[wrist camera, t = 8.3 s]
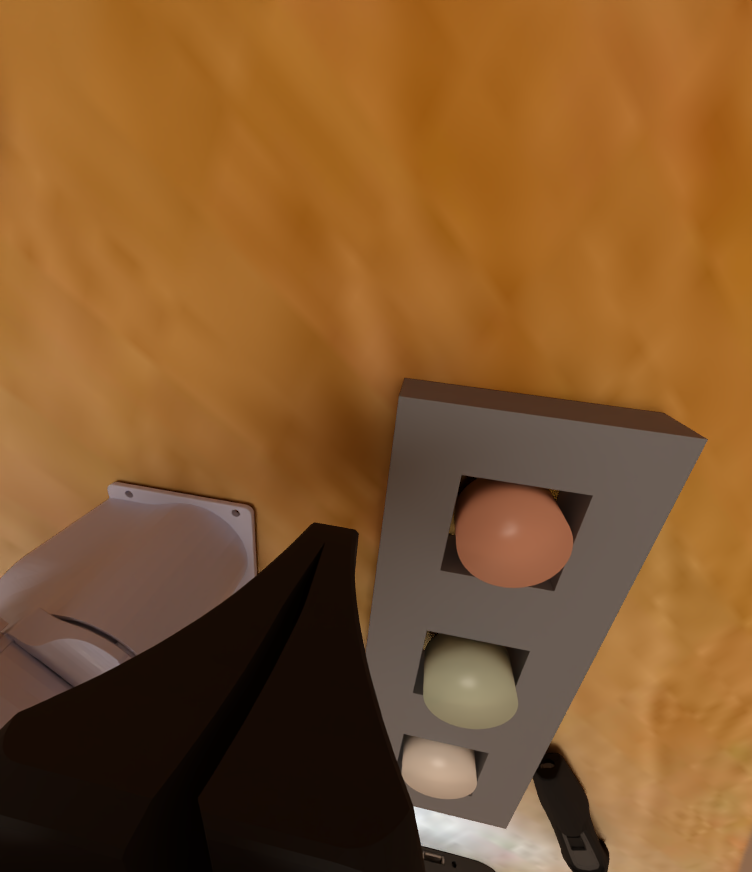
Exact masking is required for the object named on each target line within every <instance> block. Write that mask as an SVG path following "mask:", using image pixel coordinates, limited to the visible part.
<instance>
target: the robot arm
mask: <svg viewBox="0 0 752 872" xmlns="http://www.w3.org/2000/svg"><path fill="white" fill-rule="evenodd" d="M131 492H132V493H131ZM108 494H109V499H108V500H106V501H105V502H103V503H102V504H100V505H99V506H97V507H96V508H94V509H93V510H91V511H90V512H88V513H87V514H86V515H84V516H83V517H81V518H80V519H78V520H77V521H75V522H74V523H72V524H71V525H69V526H68V527H66V528H65V529H63V530H62V531H61V532H59V533H58V534H56V535H55V536H53V537H52V538H50V539H49V540H47V541H46V542H44V543H43V544H41V545H40V546H39V547H37V548H36V549H34V550H33V551H31V552H30V553H28V554H27V555H25V556H24V557H23V558H21V559H20V560H19V561H18V562H16V563H15V564H14V565H13V566H12V567H11V568H10V569H9V570H8V571H7V572H6V573H5V574H4V575H3V576H2V578H1V579H0V872H426V871H425V864H424V859H423V854H422V848H421V843H420V838H419V833H418V829H417V824H416V819H415V813H414V807H413V804H412V801H411V798H410V795H409V793H408V790H407V787H406V785H405V782H404V779H403V777H402V774H401V771H400V768H399V765H398V763H397V760H396V757H395V754H394V751H393V748H392V745H391V742H390V739H389V736H388V733H387V730H386V727H385V724H384V721H383V717H382V714H381V710H380V707H379V703H378V700H377V696H376V693H375V689H374V686H373V682H372V679H371V675H370V670H369V666H368V662H367V658H366V653H365V648H364V644H363V639H362V633H361V628H360V622H359V615H358V608H357V600H356V590H355V566H356V556H357V546H358V535H359V534H358V532H357V531H356V530H354V529H349V528H343V527H337V526H332V525H326V524H320V523H315V522H314V523H313V524H311V525H310V526H309V527H308V528H307V529H306V530H305V531H304V532H303V533H302V534H301V535H300V536H299V537H298V538H297V539H296V540H295V541H294V542H293V543H292V544H291V545H290V546H289V547H288V548H287V549H286V550H285V551H284V552H283V553H282V554H280V555H279V556H278V557H277V558H276V559H275V560H274V561H273V562H271V563H270V564H269V565H268V566H267V567H266V568H265V569H264V570H262V571H261V572H260V573H259V574H258V575H257V565H256V544H255V522H254V511H253V509H252V507H250V506H249V505H246V504H240V503H234V502H229V501H223V500H217V499H212V498H206V497H200V496H194V495H189V494H183V493H177V492H172V491H166V490H160V489H155V488H149V487H143V486H137V485H132V484H126V483H120V482H113V483H112V484H110V485H109V486H108ZM235 510H238V511H239V513H238V512H236V511H235Z"/></svg>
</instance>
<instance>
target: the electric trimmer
mask: <svg viewBox="0 0 752 872" xmlns="http://www.w3.org/2000/svg"><path fill="white" fill-rule="evenodd" d="M533 780H534V783H535V787H536V790H537V794H538V797H539V799H540V802H541V805H542V806H543V808H544V810H545V812H546V814H547V816H548V818H549V820H550V822H551V824H552V827H553V829H554V831H555V834H556V837H557V839H558V842H559V845H560V848H561V853H562V856H563V858H564V860H565V861H566V863H567V865H568V866H569V867H570V869H571V870H572V871H573V872H607V871H608V865H609V851H608V848H607V847H606V845H605V843H604V841H603V840H598V837H597V835H596V833H595V830H594V827H593V824H592V821H591V818H590V813H589V802H588V798H587V796H586V794H585V792H584V790H583V788H582V787H581V785H580V783H579V782H578V780H577V779H576V777H575V775H574V774H573V772H572V771H571V769H570V768H569V766H568V764H567V763H566V761H565V760H564V758H563V757H562V756H561V755H560V754H558V753H555V754H544V756H543V758H542V760H541V762H540V764H539V766H538V768H537V770H536V772H535V774H534V776H533Z"/></svg>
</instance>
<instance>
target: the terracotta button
mask: <svg viewBox="0 0 752 872" xmlns="http://www.w3.org/2000/svg"><path fill="white" fill-rule="evenodd" d="M454 521H455V534H456V547H457V553H458V556H459V559H460V560H461V562H462V564H463V565H464V567H465V568H466V569H467V570H468V571H469V572H470V573H471V574H472V575H474V576H475V577H476V578H478V579H480V580H482V581H484V582H486V583H488V584H491V585H495V586H499V587H506V588H522V587H528V586H532V585H536V584H539V583H542V582H544V581H546V580H548V579H550V578H551V577H553V576H554V575H556V574H557V573H558V572H559V571H560V570H561V569H562V568H563V567H564V566H565V564H566V563H567V562H568V560H569V558H570V556H571V553H572V549H573V536H572V532H571V529H570V527H569V525H568V523H567V521H566V519H565V517H564V515H563V514H562V512H561V510H560V508H559V506H558V504H557V502H556V500H555V499H554V497H553V495H552V493H551V492H550V490H549V489H548V488H542V487H535V486H529V485H523V484H516V483H510V482H504V481H497V480H491V479H485V478H478V479H476V480H474V481H473V482H471V483H470V484H469V485H468V486H466V487H465V489H464V490H463V491H462V492H461V494H460V495H459V497H458V499H457V501H456V504H455V509H454Z"/></svg>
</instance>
